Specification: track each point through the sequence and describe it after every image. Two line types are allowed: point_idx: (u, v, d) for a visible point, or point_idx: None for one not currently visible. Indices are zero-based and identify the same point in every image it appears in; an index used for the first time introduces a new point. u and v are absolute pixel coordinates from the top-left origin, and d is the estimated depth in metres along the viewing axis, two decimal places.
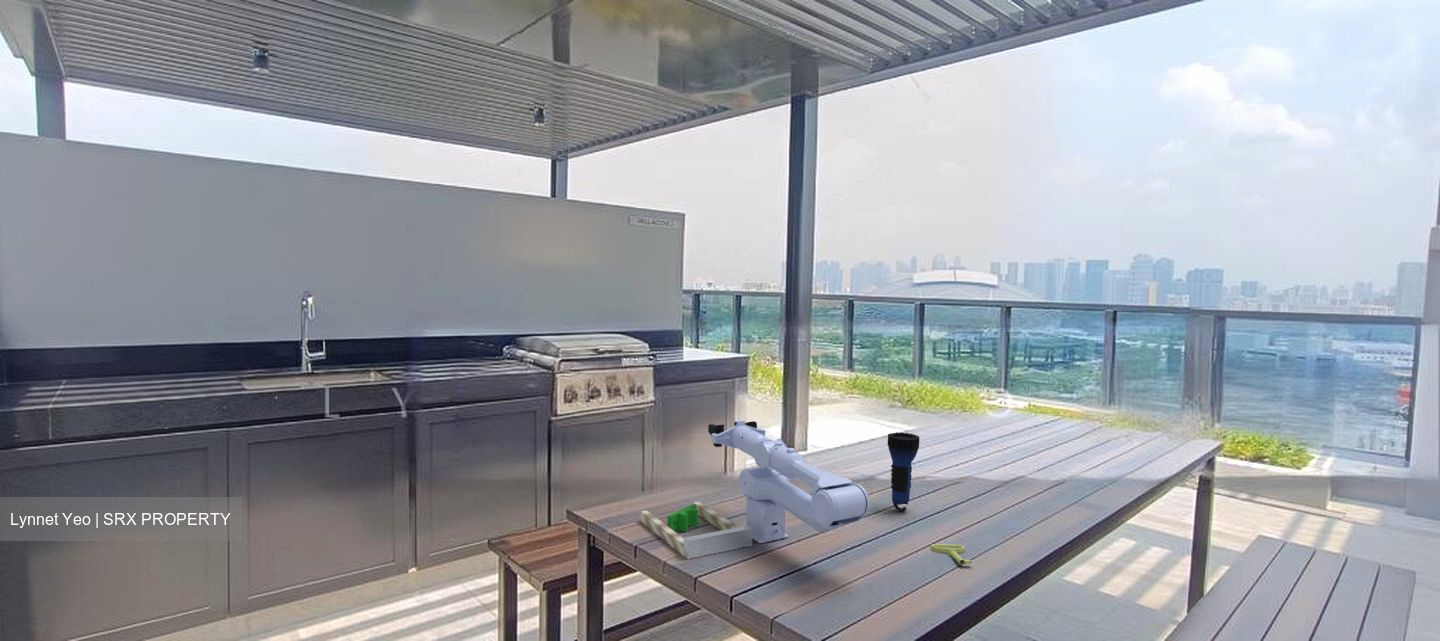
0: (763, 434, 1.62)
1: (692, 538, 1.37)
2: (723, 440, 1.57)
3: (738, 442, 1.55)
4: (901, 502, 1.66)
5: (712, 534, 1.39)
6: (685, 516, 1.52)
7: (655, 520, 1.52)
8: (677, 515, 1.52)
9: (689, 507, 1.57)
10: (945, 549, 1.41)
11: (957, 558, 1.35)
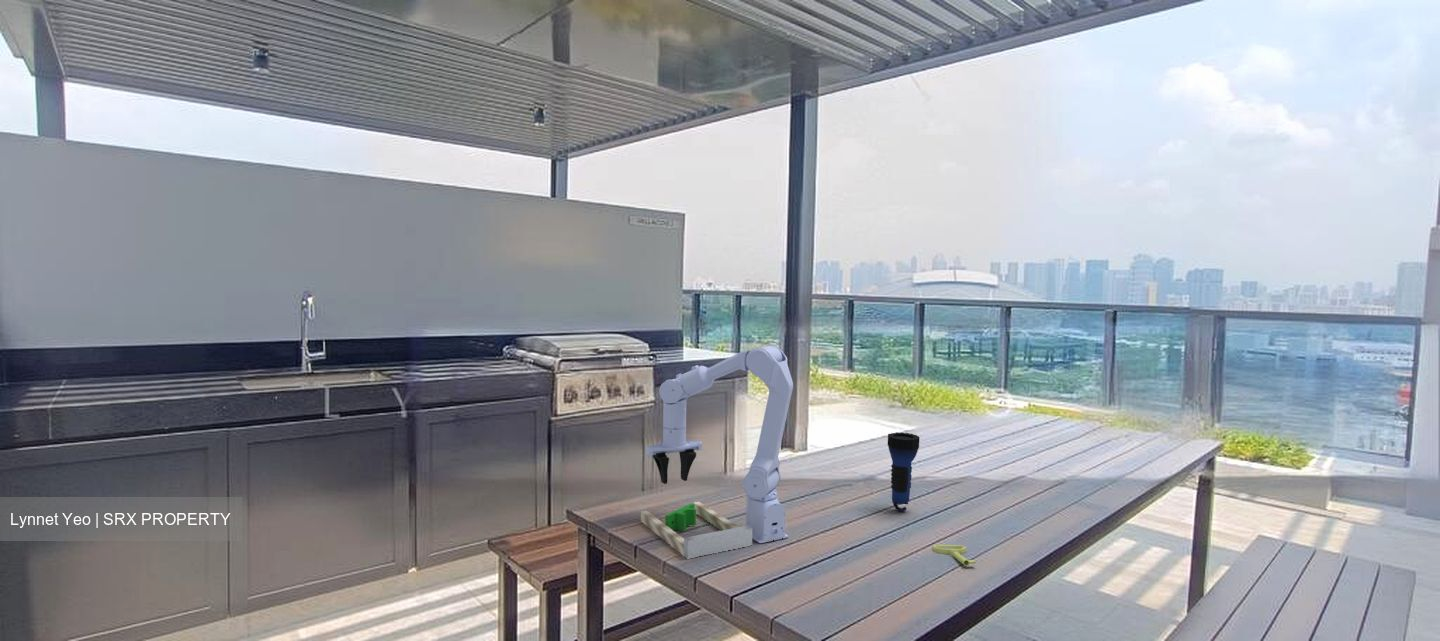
0: (698, 442, 1.63)
1: (692, 538, 1.37)
2: (657, 448, 1.57)
3: (664, 431, 1.58)
4: (901, 502, 1.66)
5: (712, 534, 1.39)
6: (683, 515, 1.52)
7: (655, 520, 1.52)
8: (675, 514, 1.53)
9: (687, 506, 1.57)
10: (947, 550, 1.41)
11: (961, 559, 1.35)
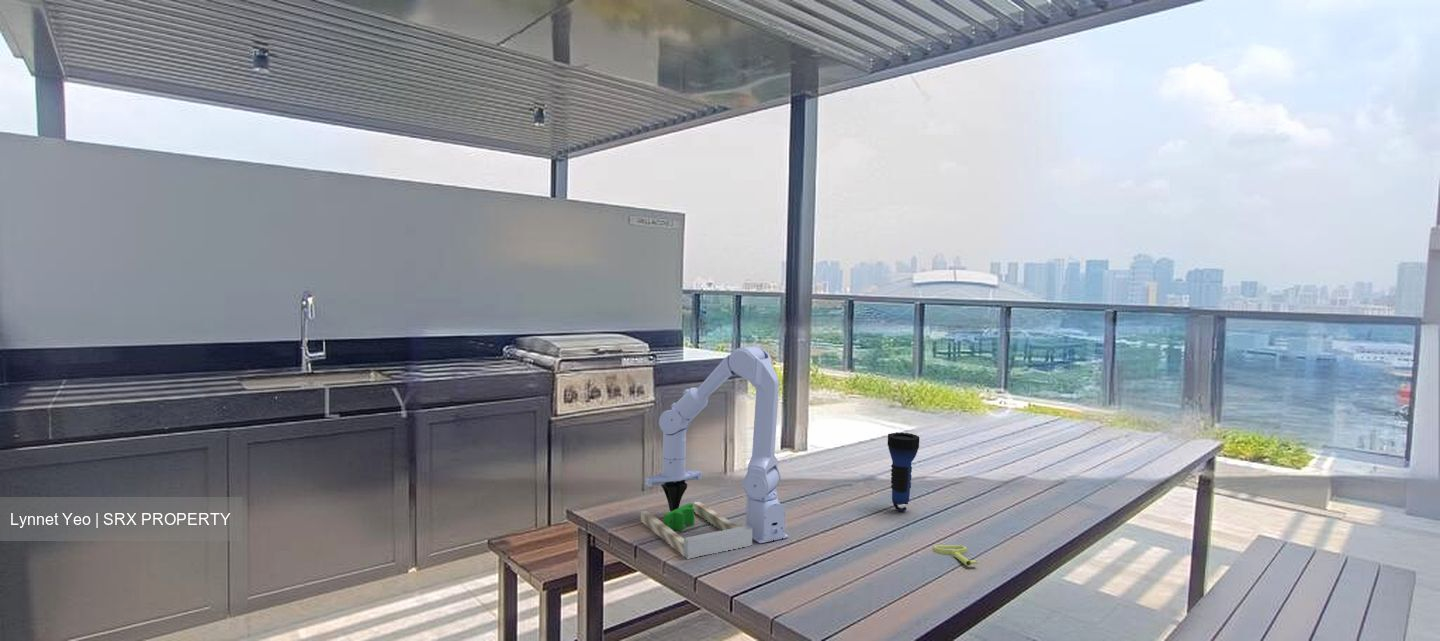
0: (698, 471, 1.63)
1: (692, 538, 1.37)
2: (657, 478, 1.57)
3: (663, 461, 1.59)
4: (901, 502, 1.66)
5: (712, 534, 1.39)
6: (681, 515, 1.52)
7: (655, 520, 1.52)
8: (673, 514, 1.53)
9: (685, 506, 1.58)
10: (948, 550, 1.40)
11: (963, 559, 1.34)
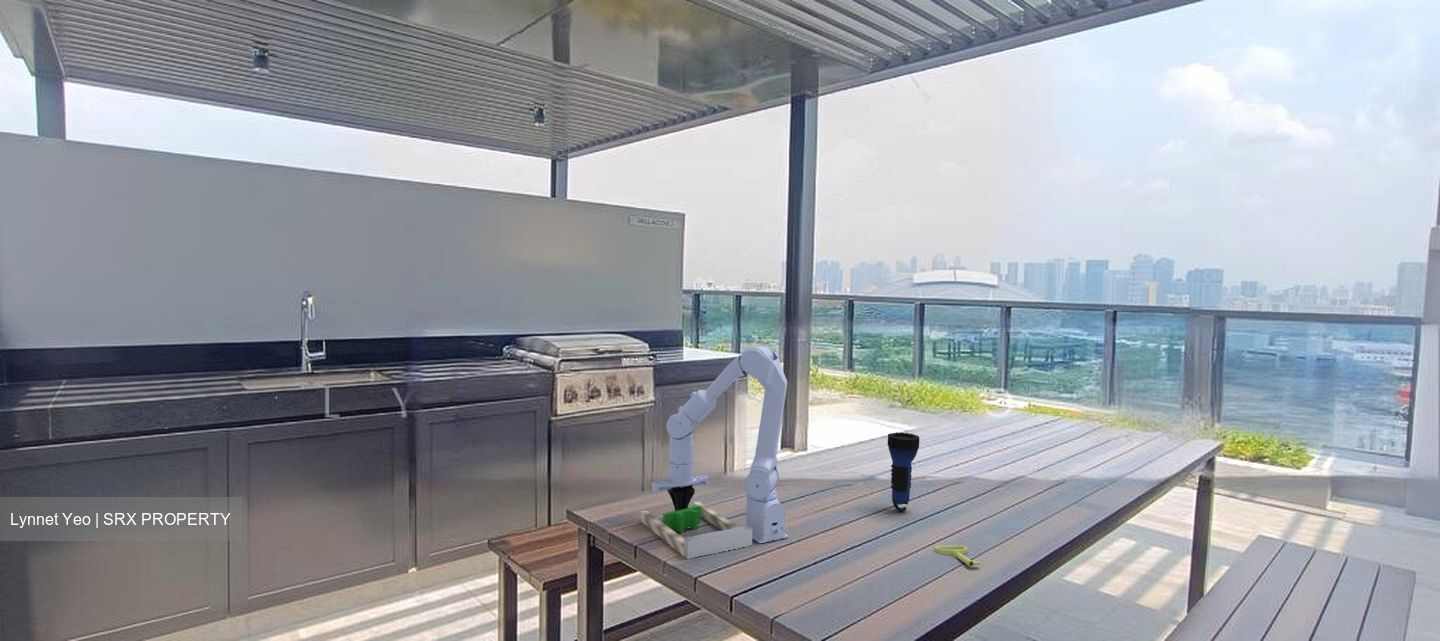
0: (705, 476, 1.60)
1: (692, 538, 1.37)
2: (664, 483, 1.54)
3: (670, 466, 1.55)
4: (901, 502, 1.66)
5: (712, 534, 1.39)
6: (680, 516, 1.51)
7: (655, 520, 1.52)
8: (674, 514, 1.52)
9: (691, 508, 1.56)
10: (950, 551, 1.40)
11: (965, 560, 1.34)
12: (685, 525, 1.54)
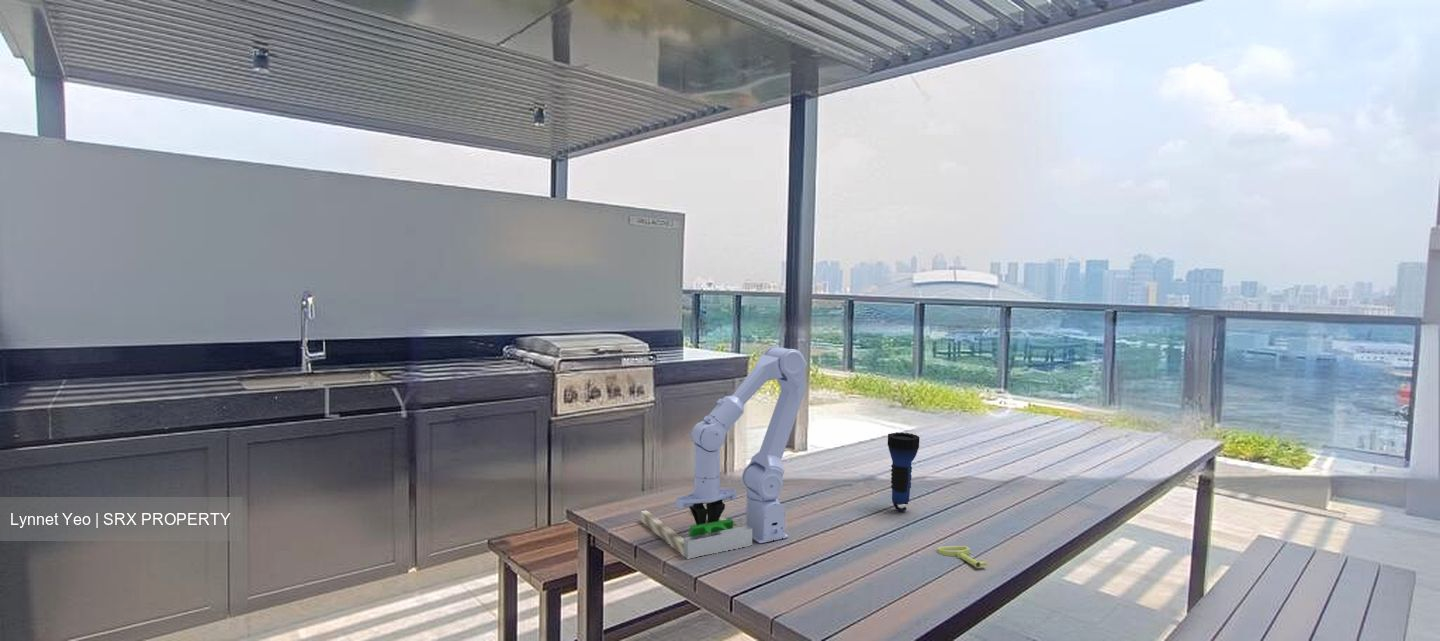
0: (732, 490, 1.49)
1: (692, 538, 1.37)
2: (689, 499, 1.43)
3: (695, 480, 1.44)
4: (901, 502, 1.66)
5: (712, 534, 1.39)
6: None
7: (655, 520, 1.52)
8: (702, 528, 1.42)
9: (722, 522, 1.45)
10: (953, 552, 1.40)
11: (971, 561, 1.34)
12: None
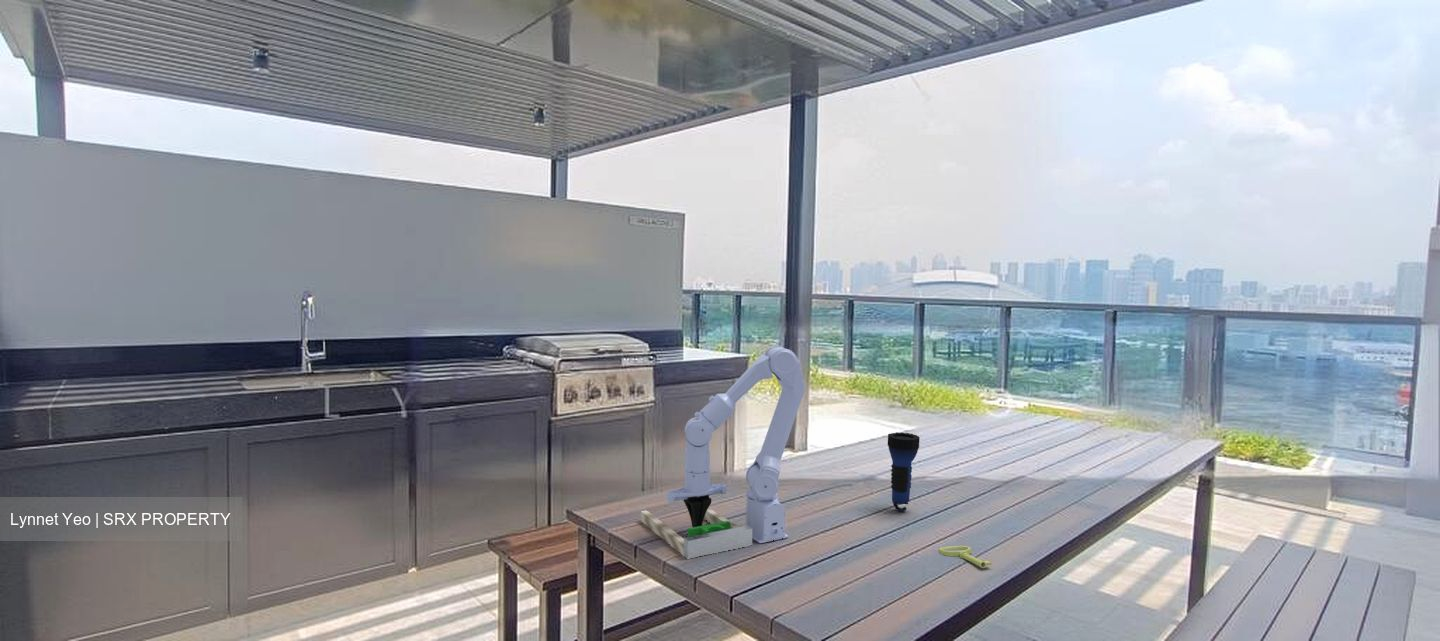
0: (722, 485, 1.52)
1: (692, 538, 1.37)
2: None
3: (686, 474, 1.48)
4: (901, 502, 1.66)
5: (712, 534, 1.39)
6: (705, 532, 1.42)
7: (655, 520, 1.52)
8: (699, 530, 1.43)
9: (719, 523, 1.46)
10: (956, 552, 1.39)
11: (976, 561, 1.34)
12: None
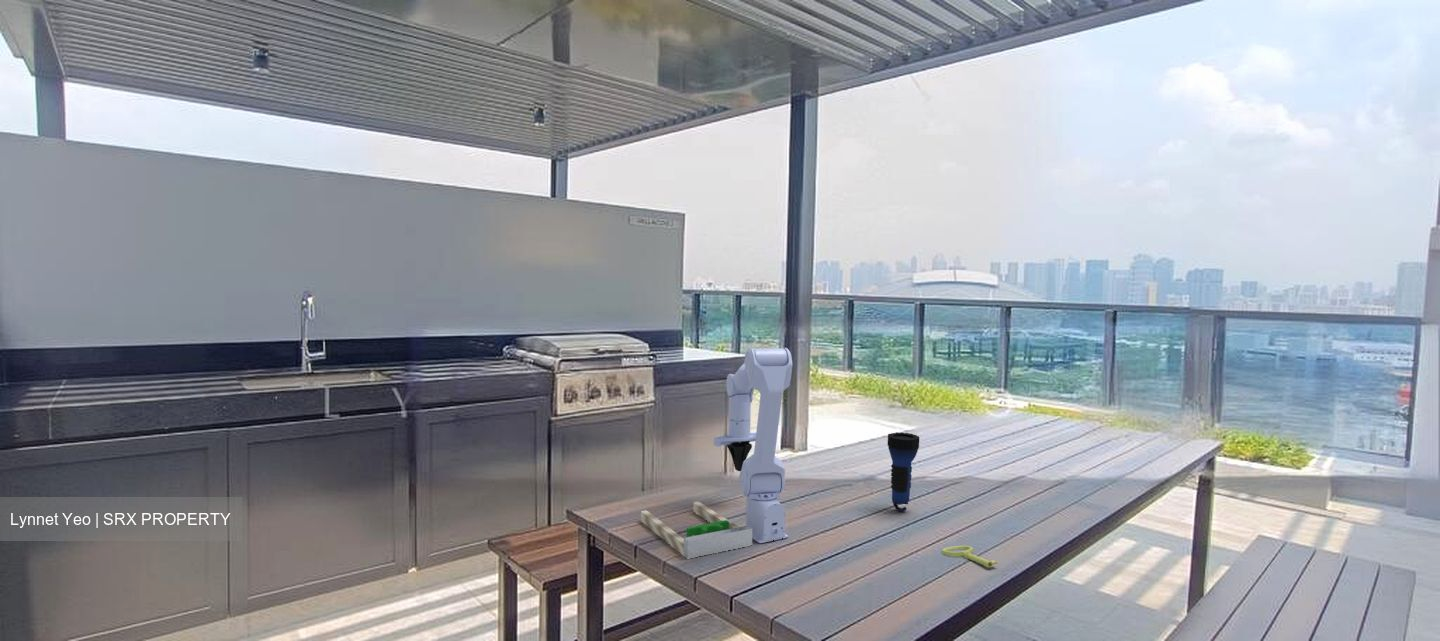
0: None
1: (692, 538, 1.37)
2: (725, 438, 1.68)
3: (730, 423, 1.69)
4: (901, 502, 1.66)
5: (712, 534, 1.39)
6: (704, 531, 1.42)
7: (655, 520, 1.52)
8: (698, 529, 1.44)
9: (718, 523, 1.47)
10: (960, 553, 1.39)
11: (982, 561, 1.34)
12: None
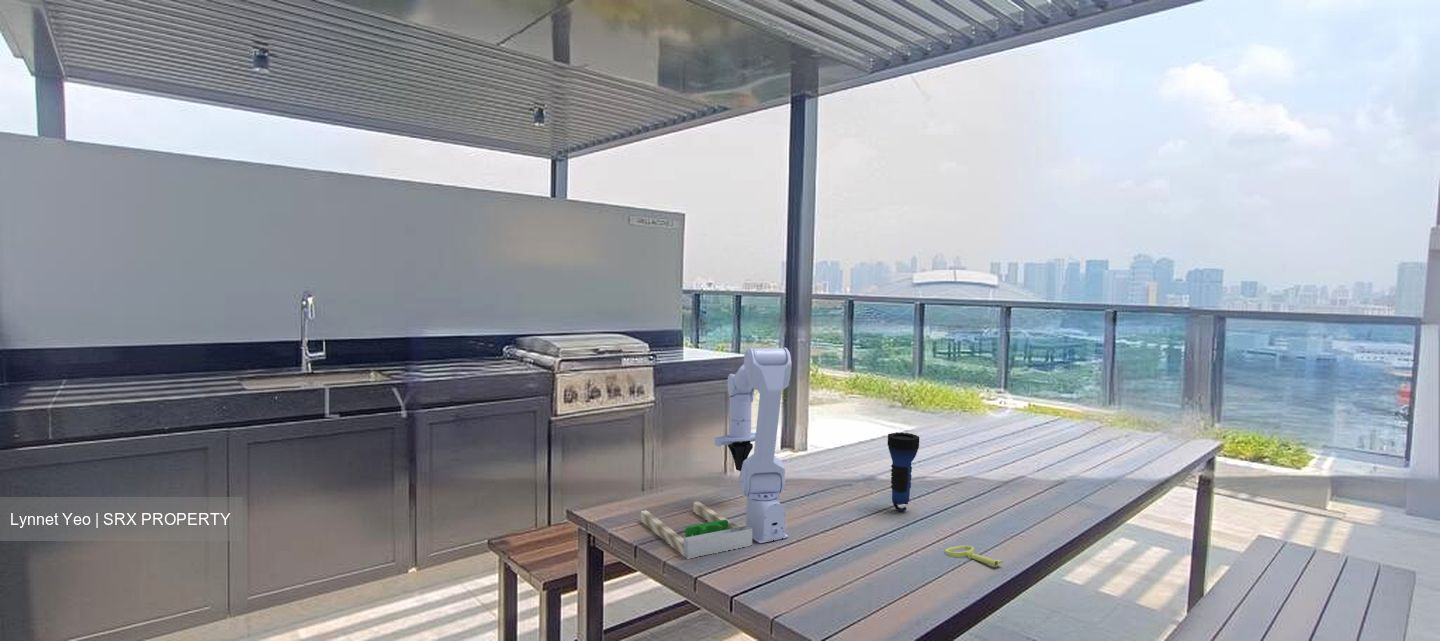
0: None
1: (692, 538, 1.37)
2: None
3: (731, 423, 1.69)
4: (901, 502, 1.66)
5: (712, 534, 1.39)
6: (703, 530, 1.43)
7: (655, 520, 1.52)
8: (697, 528, 1.44)
9: (717, 522, 1.47)
10: (963, 553, 1.39)
11: (988, 560, 1.34)
12: None
